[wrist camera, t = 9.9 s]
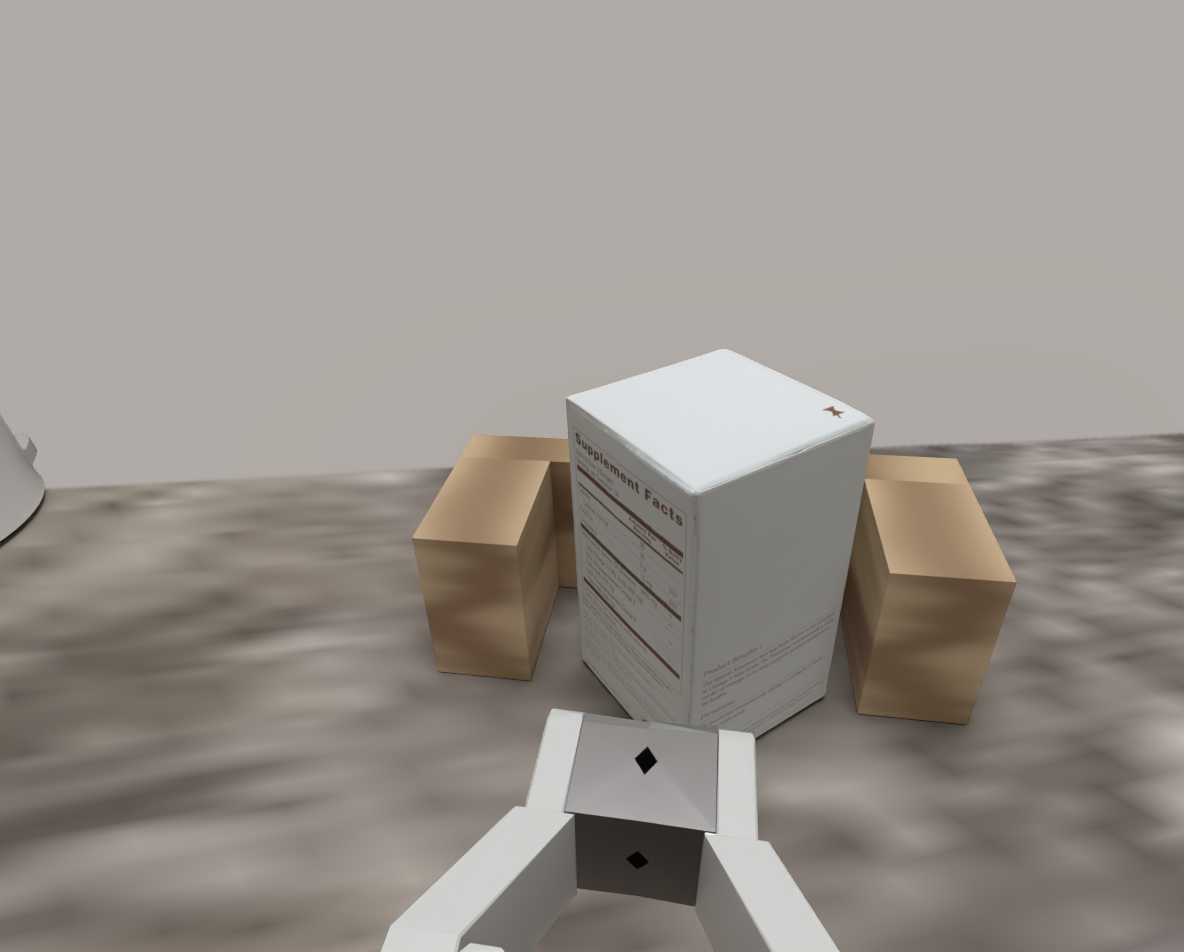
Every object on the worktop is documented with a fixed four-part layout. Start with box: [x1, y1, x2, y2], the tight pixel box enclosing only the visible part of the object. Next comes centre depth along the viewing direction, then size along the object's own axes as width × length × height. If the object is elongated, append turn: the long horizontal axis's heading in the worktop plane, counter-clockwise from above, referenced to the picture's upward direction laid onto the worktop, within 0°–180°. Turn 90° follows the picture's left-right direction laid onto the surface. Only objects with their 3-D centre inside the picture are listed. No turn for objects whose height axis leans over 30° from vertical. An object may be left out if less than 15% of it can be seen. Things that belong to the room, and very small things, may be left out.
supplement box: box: [566, 349, 875, 739], centre depth 28 cm, size 7×7×13 cm
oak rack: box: [412, 434, 1017, 724], centre depth 32 cm, size 21×8×7 cm, turn 81°
